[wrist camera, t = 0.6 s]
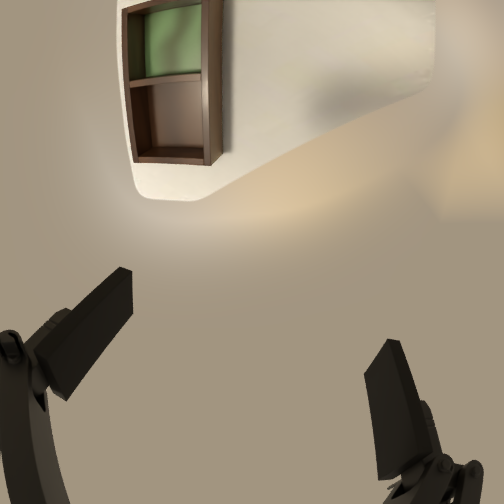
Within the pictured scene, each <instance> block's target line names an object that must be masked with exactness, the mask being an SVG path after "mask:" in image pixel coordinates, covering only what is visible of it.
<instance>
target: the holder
mask: <svg viewBox="0 0 504 504" xmlns="http://www.w3.org/2000/svg"><path fill="white" fill-rule="evenodd" d="M222 25H223V0H151V1H147V2H143V3H140V4H137V5H133V6H130V7H127V8H124V9H122V61H123V78H124V91H125V102H126V111H127V120H128V128H129V136H130V143H131V150H132V156H133V162H134V163H168V164H189V165H205V166H211V165H212V164H213V163H214V162H215V161H216V160H217V159H218V158H219V157H220V156H221V155H222V154H223V140H222Z"/></svg>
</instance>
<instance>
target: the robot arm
mask: <svg viewBox="0 0 504 504" xmlns="http://www.w3.org/2000/svg"><path fill="white" fill-rule="evenodd" d="M132 314H133V295H132V271H131V270H128V269H125V268H122V267H119V268H118V269H116V270H115V271H114V272H113V273H112V274H111V275H110V276H108V277H107V278H106V279H105V280H104V281H103V282H102V283H101V284H100V285H99V286H97V287H96V288H95V289H94V290H93V291H92V292H91V293H90V294H89V295H87V296H86V297H85V298H84V299H83V300H82V301H81V302H80V303H79V304H78V305H77V306H76V307H75V308H74V309H73V310H72V311H71V310H69V309H67V308H64V309H62V310H60V311H58V312H56V313H55V314H54V315H53V316H52V317H51V318H50V319H49V321H46V323H44V325H43V326H41V328H39V329H38V330H37V331H36V332H35V333H34V334H33V335H32V336H31V337H30V338H29V339H28V340H27V341H26V342H25V343H24V344H23V341H22V339H21V336H20V335H19V333H18V332H16V331H14V330H6V331H3V332H1V333H0V451H1V453H2V461H3V468H4V474H5V479H6V485H7V489H8V494H9V498H10V502H11V504H70V502H69V499H68V496H67V493H66V490H65V486H64V483H63V479H62V476H61V472H60V468H59V464H58V460H57V456H56V451H55V446H54V441H53V435H52V429H51V423H50V416H49V408H48V400H47V392H46V389H47V387H48V386H50V388H51V390H52V391H53V393H54V394H56V395H57V396H59V397H60V398H62V399H63V400H65V401H67V400H68V399H69V397H70V396H71V394H72V393H73V392H74V390H75V389H76V387H77V386H78V385H79V383H80V382H81V380H82V379H83V378H84V376H85V375H86V374H87V372H88V371H89V370H90V368H91V367H92V365H93V364H94V363H95V362H96V360H97V359H98V358H99V356H100V355H101V354H102V352H103V351H104V350H105V348H106V347H107V346H108V345H109V343H110V342H111V341H112V339H113V338H114V337H115V335H116V334H117V333H118V332H119V331H120V329H121V328H122V327H123V326H124V324H125V323H126V322H127V321H128V319H129V318H130V317H131V316H132ZM364 378H365V383H366V389H367V394H368V400H369V407H370V413H371V420H372V427H373V434H374V443H375V450H376V461H377V472H378V480H390V479H394V478H395V477H397V476H399V475H400V474H401V478H402V479H401V480H399V481H398V482H396V483H394V484H392V485H391V486H389V487H388V488H387V489H388V490H389V489H391V488H393V487H394V488H393V490H392V491H391V493H390V494H389V496H388V497H387V498H386V500H385V501H384V503H383V504H480V498H481V491H482V484H483V475H484V471H483V467H482V465H481V463H480V462H479V461H477V460H472V461H470V462H468V463H467V464H466V465H459V464H455V463H454V462H453V460H452V458H451V457H450V456H449V455H447V454H443V453H442V450H441V446H440V442H439V438H438V434H437V430H436V427H435V423H434V420H433V416H432V413H431V410H430V408H429V406H428V405H427V403H426V402H425V401H422V400H420V399H419V396H418V392H417V389H416V386H415V383H414V380H413V377H412V374H411V371H410V368H409V365H408V363H407V360H406V357H405V354H404V352H403V349H402V346H401V343H400V341H398V340H392V339H387V340H386V342H385V344H384V345H383V347H382V348H381V350H380V351H379V353H378V354H377V356H376V357H375V359H374V360H373V362H372V363H371V365H370V366H369V368H368V369H367V371H366V372H365V373H364ZM453 497H454V500H453V502H452V503H450V500H451V498H453Z"/></svg>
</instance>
